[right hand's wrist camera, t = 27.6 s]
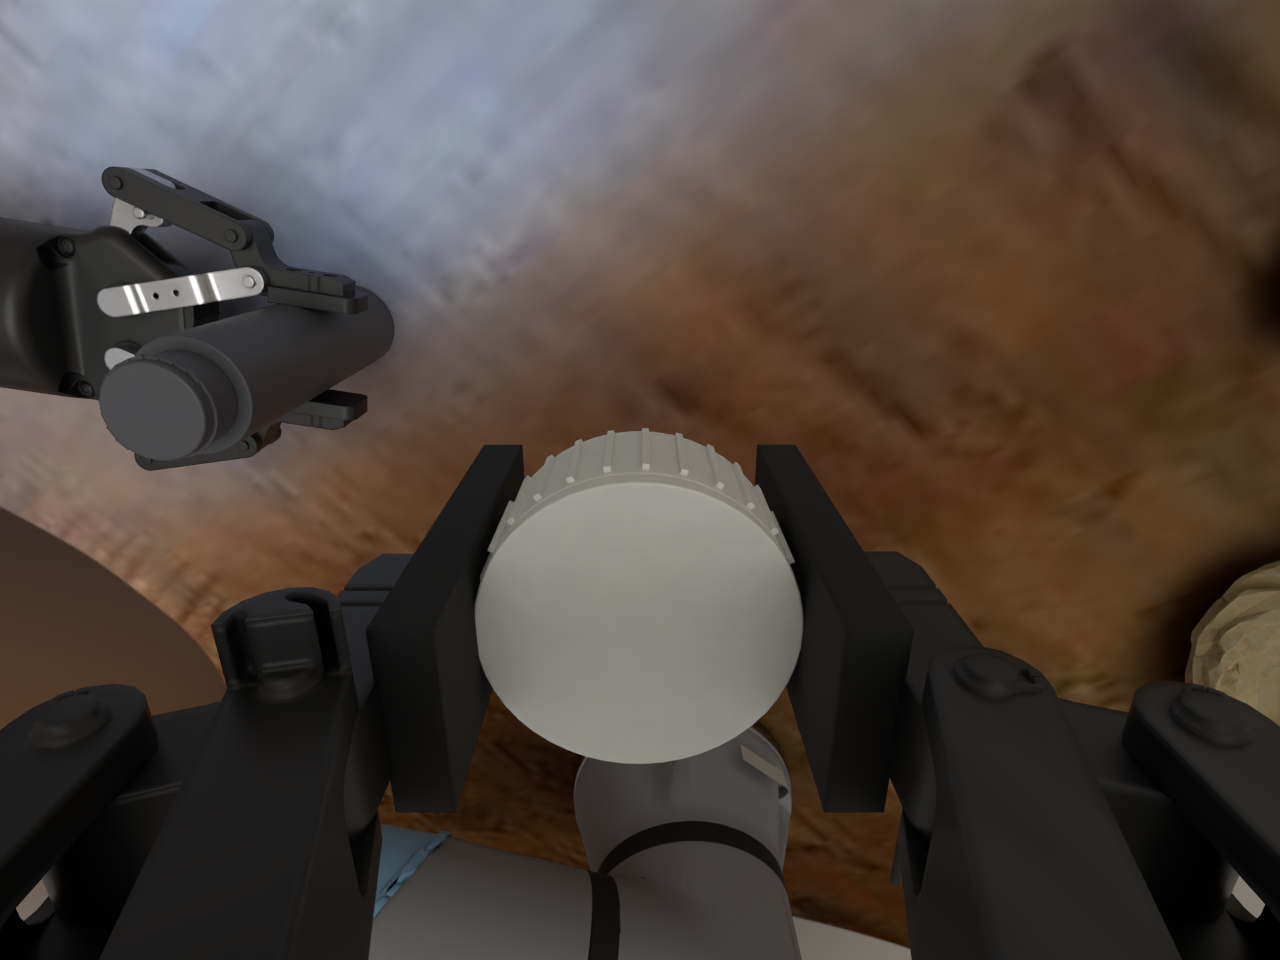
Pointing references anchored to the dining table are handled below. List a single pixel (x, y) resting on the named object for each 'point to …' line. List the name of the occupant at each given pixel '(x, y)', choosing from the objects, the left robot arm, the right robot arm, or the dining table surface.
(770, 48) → the dining table surface
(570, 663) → the lid
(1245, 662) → the fossil
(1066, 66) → the dining table surface
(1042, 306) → the dining table surface
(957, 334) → the dining table surface
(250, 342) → the dark grey cylinder
